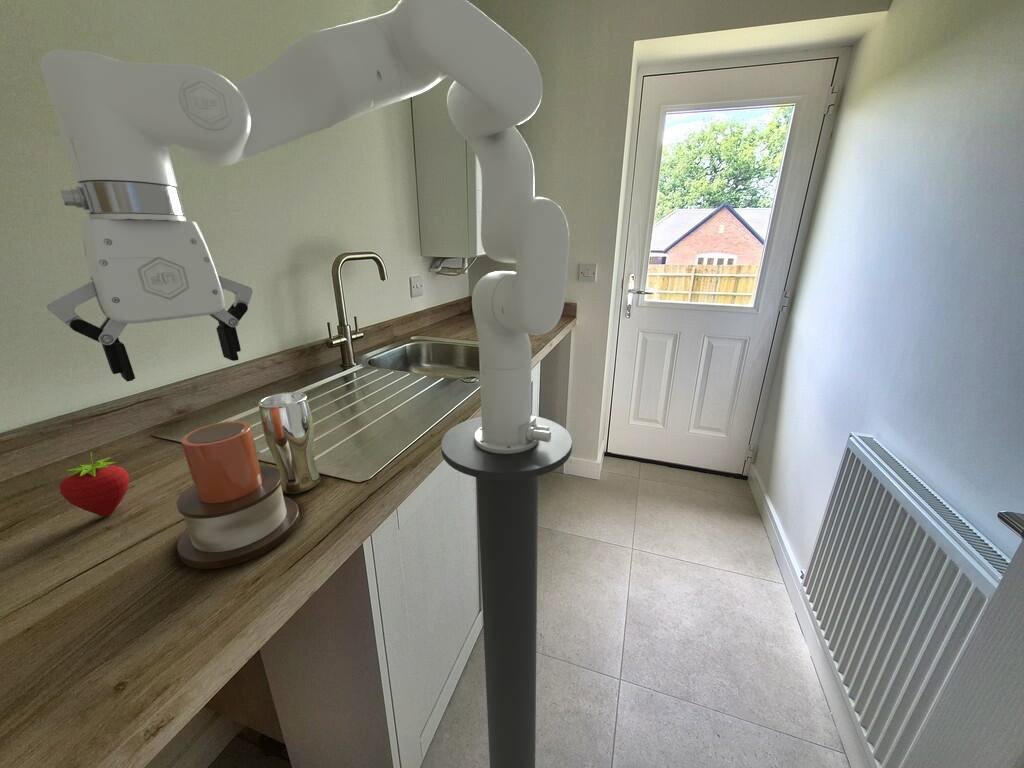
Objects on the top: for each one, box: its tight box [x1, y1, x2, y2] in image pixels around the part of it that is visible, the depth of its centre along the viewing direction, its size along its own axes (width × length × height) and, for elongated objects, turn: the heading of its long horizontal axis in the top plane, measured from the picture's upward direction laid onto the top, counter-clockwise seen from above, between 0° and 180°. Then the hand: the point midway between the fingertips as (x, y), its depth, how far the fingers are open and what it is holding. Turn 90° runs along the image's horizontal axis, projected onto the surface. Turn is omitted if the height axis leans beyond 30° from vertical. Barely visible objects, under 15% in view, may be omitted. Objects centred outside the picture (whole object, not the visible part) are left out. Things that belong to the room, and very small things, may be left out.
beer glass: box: [258, 391, 321, 495], centre depth 65 cm, size 7×7×15 cm
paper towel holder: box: [176, 464, 301, 570], centre depth 55 cm, size 14×14×7 cm
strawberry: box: [59, 451, 130, 518], centre depth 58 cm, size 6×8×10 cm
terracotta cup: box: [180, 420, 263, 503], centre depth 53 cm, size 7×7×8 cm
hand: (183, 368), depth 47 cm, fingers open, 9 cm apart
